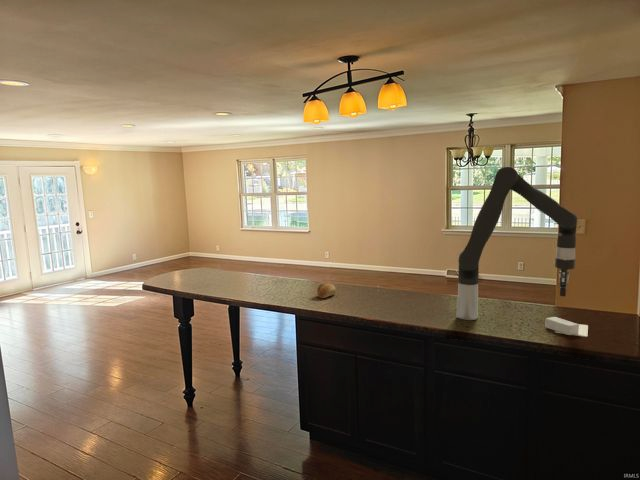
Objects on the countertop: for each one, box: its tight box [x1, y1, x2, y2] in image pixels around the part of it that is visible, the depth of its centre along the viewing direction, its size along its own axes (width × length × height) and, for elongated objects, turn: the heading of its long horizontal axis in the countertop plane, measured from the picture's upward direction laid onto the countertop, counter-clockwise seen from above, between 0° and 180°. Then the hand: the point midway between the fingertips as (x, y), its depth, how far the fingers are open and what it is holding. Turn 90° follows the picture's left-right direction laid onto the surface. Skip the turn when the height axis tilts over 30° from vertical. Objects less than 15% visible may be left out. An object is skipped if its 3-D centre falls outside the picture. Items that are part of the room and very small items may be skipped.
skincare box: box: [544, 316, 579, 336], centre depth 188 cm, size 6×4×12 cm
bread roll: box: [316, 282, 337, 299], centre depth 257 cm, size 10×15×8 cm, turn 150°
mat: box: [554, 323, 589, 338], centre depth 190 cm, size 12×16×1 cm
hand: (562, 295), depth 191 cm, fingers closed
